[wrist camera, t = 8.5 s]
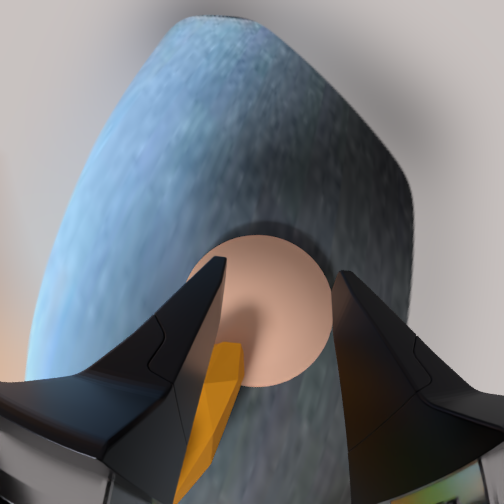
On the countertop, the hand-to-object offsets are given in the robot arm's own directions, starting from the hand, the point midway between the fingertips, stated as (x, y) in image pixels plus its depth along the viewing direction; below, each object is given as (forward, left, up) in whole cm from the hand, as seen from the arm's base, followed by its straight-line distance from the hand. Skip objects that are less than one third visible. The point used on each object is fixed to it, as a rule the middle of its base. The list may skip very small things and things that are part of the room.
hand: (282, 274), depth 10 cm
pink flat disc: (-1, +1, -9) cm, 9 cm away
